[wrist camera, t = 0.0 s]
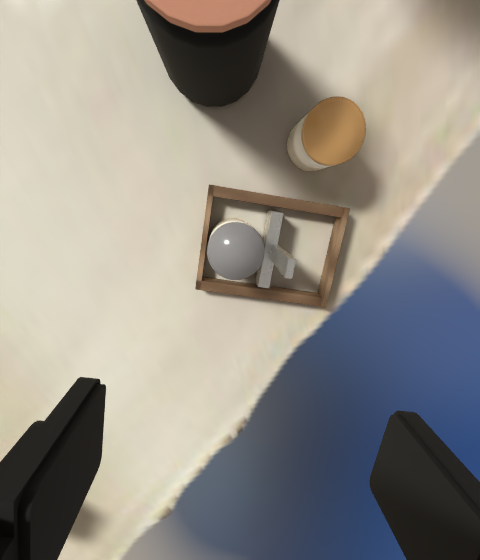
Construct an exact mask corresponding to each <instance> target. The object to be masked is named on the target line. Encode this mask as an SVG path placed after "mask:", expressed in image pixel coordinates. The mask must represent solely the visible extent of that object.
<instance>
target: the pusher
mask: <svg viewBox="0 0 480 560" xmlns="http://www.w3.org/2000/svg"><path fill="white" fill-rule="evenodd" d="M283 214H284V213H281V212H276V211H270V210H268V213H267V219H266V225H265V230H264V236H263V243H264V248H265V254H264V259H263V262H262V264H261V266H260V268H259V269H258V270H257V275H256V280H255V281H256V283H257V285H258V287H263V288H269V287H270V281H271V276H272V271H273V266H274V265H275V266H276V268H277V269H278V270H279V271H280V273H281V274H282V275H283V276H284V278H289V279H292V277H293V272H294V267H295V263H296V259H295V258H293V257H292V256H291V255H290V254H289V253H287V252H286V251H285V250H284V249H282V248H281V247H280V246H279V245H278V240H279V234H280V229H281V224H282V219H283Z"/></svg>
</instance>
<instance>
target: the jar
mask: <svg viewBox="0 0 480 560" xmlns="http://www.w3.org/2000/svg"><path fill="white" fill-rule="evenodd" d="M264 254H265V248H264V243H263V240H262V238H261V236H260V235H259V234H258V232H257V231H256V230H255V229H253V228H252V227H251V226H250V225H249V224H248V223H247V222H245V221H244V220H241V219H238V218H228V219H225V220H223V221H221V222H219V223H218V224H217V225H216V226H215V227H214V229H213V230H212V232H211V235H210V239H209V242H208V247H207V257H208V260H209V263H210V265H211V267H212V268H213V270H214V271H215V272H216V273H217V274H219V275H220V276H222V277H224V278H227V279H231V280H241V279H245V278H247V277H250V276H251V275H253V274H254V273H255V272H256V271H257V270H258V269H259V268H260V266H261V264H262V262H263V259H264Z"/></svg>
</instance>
